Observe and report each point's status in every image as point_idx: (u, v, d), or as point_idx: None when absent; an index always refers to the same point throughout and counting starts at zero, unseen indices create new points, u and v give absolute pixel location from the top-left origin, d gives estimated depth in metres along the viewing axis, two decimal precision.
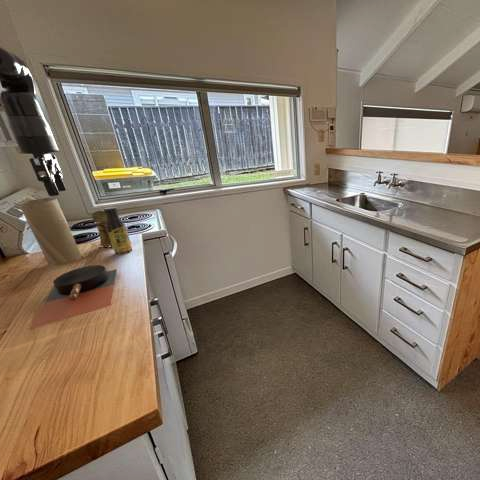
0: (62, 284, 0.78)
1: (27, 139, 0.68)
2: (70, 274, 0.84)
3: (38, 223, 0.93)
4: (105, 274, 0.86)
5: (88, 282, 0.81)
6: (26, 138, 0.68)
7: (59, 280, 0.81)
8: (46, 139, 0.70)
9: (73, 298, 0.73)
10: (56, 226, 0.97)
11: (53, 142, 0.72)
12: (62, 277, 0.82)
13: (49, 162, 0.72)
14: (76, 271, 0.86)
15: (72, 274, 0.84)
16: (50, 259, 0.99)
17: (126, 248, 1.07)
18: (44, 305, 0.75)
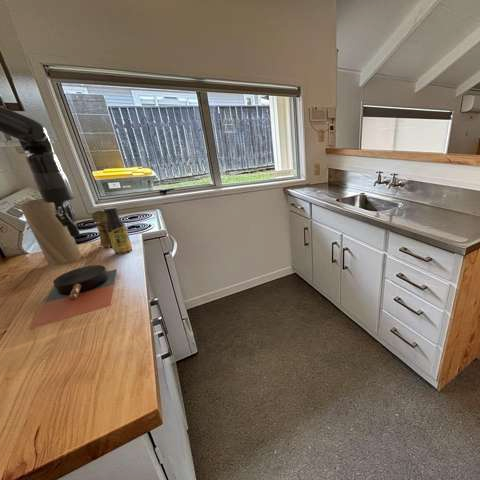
0: (62, 284, 0.78)
1: (49, 191, 0.80)
2: (70, 274, 0.84)
3: (38, 223, 0.93)
4: (105, 274, 0.86)
5: (88, 282, 0.81)
6: (48, 191, 0.80)
7: (59, 280, 0.81)
8: (64, 190, 0.83)
9: (73, 298, 0.73)
10: (56, 226, 0.97)
11: (70, 191, 0.85)
12: (62, 277, 0.82)
13: (67, 208, 0.85)
14: (76, 271, 0.86)
15: (72, 274, 0.84)
16: (50, 259, 0.99)
17: (126, 248, 1.07)
18: (44, 305, 0.75)
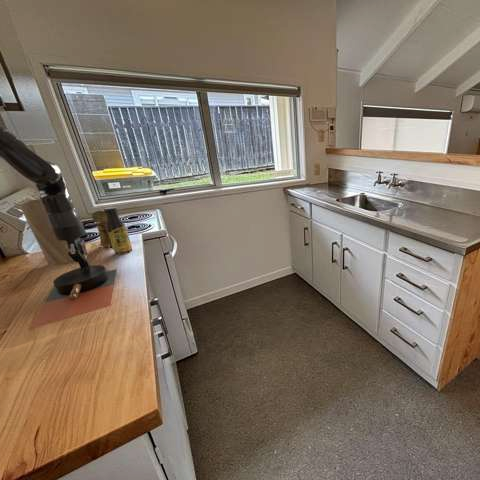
0: (62, 284, 0.78)
1: (62, 230, 0.82)
2: (70, 274, 0.84)
3: (38, 223, 0.93)
4: (105, 274, 0.86)
5: (88, 282, 0.81)
6: (61, 229, 0.82)
7: (59, 280, 0.81)
8: (77, 227, 0.84)
9: (73, 298, 0.73)
10: None
11: (82, 228, 0.86)
12: (62, 277, 0.82)
13: (79, 245, 0.86)
14: (76, 272, 0.86)
15: (72, 274, 0.84)
16: (50, 259, 0.99)
17: (126, 248, 1.07)
18: (44, 305, 0.75)
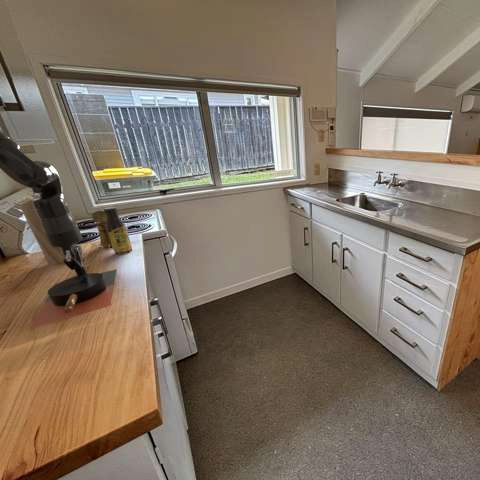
0: (57, 294, 0.73)
1: (57, 236, 0.76)
2: (66, 283, 0.79)
3: (38, 223, 0.93)
4: (103, 283, 0.81)
5: (85, 292, 0.75)
6: (56, 235, 0.76)
7: (54, 290, 0.75)
8: (72, 233, 0.79)
9: (68, 310, 0.67)
10: None
11: (78, 233, 0.81)
12: (57, 286, 0.77)
13: (75, 251, 0.81)
14: (72, 280, 0.80)
15: (68, 283, 0.79)
16: (50, 259, 0.99)
17: (126, 248, 1.07)
18: (44, 305, 0.75)
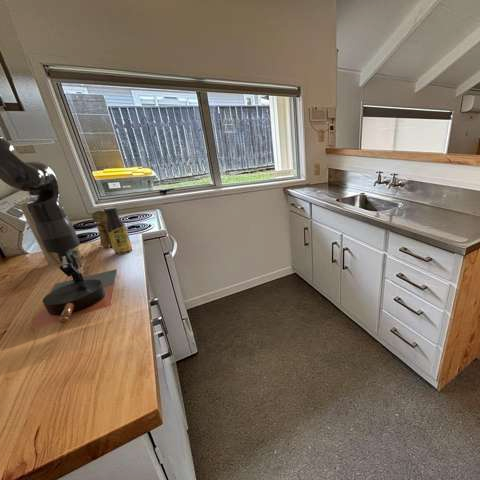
0: (52, 303, 0.69)
1: (52, 241, 0.72)
2: (62, 290, 0.75)
3: None
4: (102, 290, 0.77)
5: (82, 300, 0.71)
6: (52, 240, 0.72)
7: (49, 298, 0.71)
8: (69, 238, 0.75)
9: (64, 321, 0.64)
10: None
11: (75, 238, 0.77)
12: (53, 294, 0.73)
13: (72, 257, 0.77)
14: (69, 287, 0.76)
15: (64, 290, 0.75)
16: (50, 259, 0.99)
17: (126, 248, 1.07)
18: None
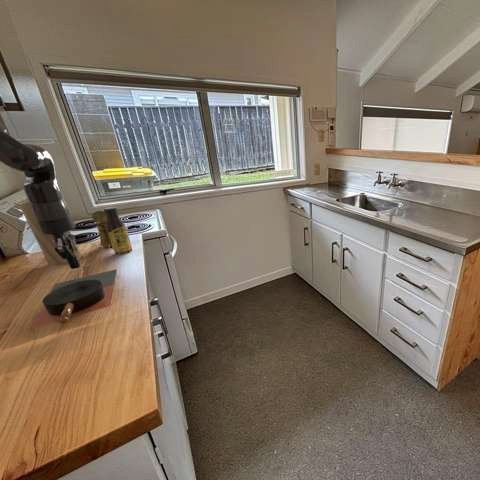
0: (52, 303, 0.69)
1: (48, 223, 0.73)
2: (62, 290, 0.75)
3: None
4: (101, 290, 0.77)
5: (82, 300, 0.71)
6: (47, 222, 0.73)
7: (49, 298, 0.71)
8: (65, 220, 0.76)
9: (64, 321, 0.63)
10: None
11: (71, 221, 0.78)
12: (53, 294, 0.73)
13: (67, 239, 0.78)
14: (69, 287, 0.76)
15: (64, 290, 0.75)
16: (50, 259, 0.99)
17: (126, 248, 1.07)
18: None
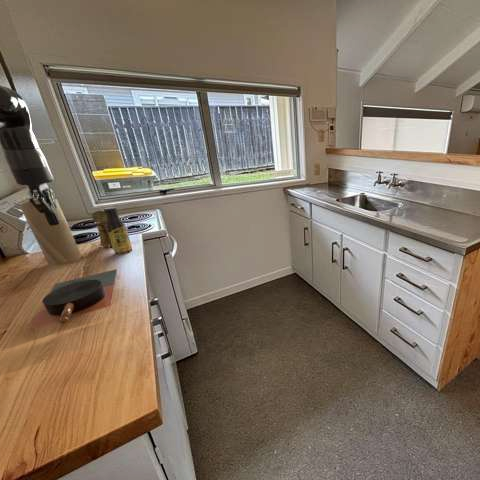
0: (52, 303, 0.69)
1: (23, 172, 0.69)
2: (62, 290, 0.75)
3: (38, 223, 0.93)
4: (101, 290, 0.77)
5: (82, 300, 0.71)
6: (22, 171, 0.69)
7: (49, 298, 0.71)
8: (41, 171, 0.72)
9: (64, 321, 0.63)
10: (56, 226, 0.97)
11: (48, 173, 0.74)
12: (53, 294, 0.73)
13: (44, 192, 0.74)
14: (69, 287, 0.76)
15: (64, 290, 0.75)
16: (50, 259, 0.99)
17: (126, 248, 1.07)
18: None
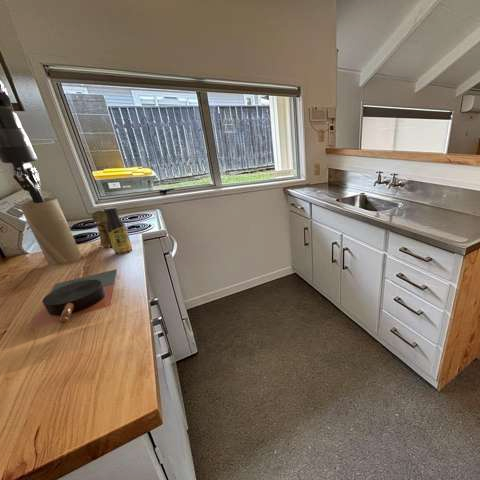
0: (52, 303, 0.69)
1: (6, 150, 0.73)
2: (62, 290, 0.75)
3: (38, 223, 0.93)
4: (101, 290, 0.77)
5: (82, 300, 0.71)
6: (5, 149, 0.73)
7: (49, 298, 0.71)
8: (24, 149, 0.76)
9: (64, 321, 0.63)
10: (56, 226, 0.97)
11: (32, 152, 0.78)
12: (53, 294, 0.73)
13: (28, 170, 0.78)
14: (69, 287, 0.76)
15: (64, 290, 0.75)
16: (50, 259, 0.99)
17: (126, 248, 1.07)
18: None
